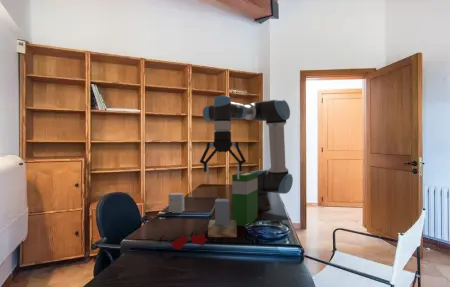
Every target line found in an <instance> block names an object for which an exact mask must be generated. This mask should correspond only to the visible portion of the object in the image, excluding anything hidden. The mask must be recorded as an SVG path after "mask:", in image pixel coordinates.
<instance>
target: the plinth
mask: <svg viewBox="0 0 450 287" xmlns="http://www.w3.org/2000/svg"><path fill="white" fill-rule="evenodd" d="M237 226H238V225H236V220H232V219H229V225H215V219H209V222H208V225H207V238H237V237H238V236H237V234H238V227H237Z"/></svg>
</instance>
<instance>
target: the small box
mask: <svg viewBox="0 0 450 287" xmlns="http://www.w3.org/2000/svg"><path fill="white" fill-rule="evenodd" d="M167 196H168V197H167V198H168V213H169V212H172V213H171V214H183V213H184V212H185V193H184V192H171V193H168V195H167ZM183 211H184V212H183ZM182 212H183V213H182Z"/></svg>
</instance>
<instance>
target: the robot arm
mask: <svg viewBox="0 0 450 287" xmlns="http://www.w3.org/2000/svg"><path fill="white" fill-rule="evenodd" d="M290 116H291V110H290V105H289V104H288V102H287V101H286V100H285V99H281V98H280V99H278V98H277V99H272V100H271V99H270V100H261V101H256V102H252V103H245V104H244V103H238V102H233V101H232V100H231V96H229V95H217V96H215V97H214V98H213V105H206V106H204V107H203V109H202V117H203V119H204V120H205V121H207V122H209V121H211V122H212V121H213V130H214V132H213V139H214V140H213V142H210V141H209V142H208V141H207V143H206V147H205V149H204V152H203V154H202V156H201V158H200V160H199V162H200V164H203V172H206V180H209V179H210V177H209V176H210V175H209V174H210V172H209V161H210V160H211V159H212V158H213V156H214V155H215V154H216V153H222V152H223V153H228V152H229V153H230V154H231V156H232V157H233V158H234V160H235V161H236V162H237V165H236V174H237V179H239V173H240V172H243V171H242V169H243V164H245V163H246V159H245V156H244V155H243V153H242V151H241V148H240V147H239V141H235V142H232V132H231V130H232V120H247V121H261V122H263V121H265V125H266V126H267V127H268V136H269V137H268V139H269V158H270V159H269V161H270V167H269V168H268V169H260V170H253V171H249V173H254V172H258V211H260V212H261V211H270V210H271V209H272V203H271V201H270V197H269V193H273V194H280V195H281V194H288V193H290V191H291V189H292V188H293V187H292V186H293V182H294V181H293V180H294V179H293V175H292V174H291V173H290V172H289V169H288V168H287V167H286V147H285V146H286V145H285V144H286V142H285V125H286V124H287V120H289V119H290V118H291V117H290ZM212 146H213V148H214V150H213V151H212V152H211V153H210V154H209V155H208V157H207V154H208V153H209V150H210V148H212ZM232 146H233V147H235V149H236V152H238V155H239V156H240V158H241V160H240V159H239V157H238V156H237V155H236V154H235V153H234V152H233V150H232V149H231V148H232ZM206 157H207V159H205V158H206Z"/></svg>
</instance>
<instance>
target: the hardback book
mask: <svg viewBox="0 0 450 287" xmlns="http://www.w3.org/2000/svg"><path fill="white" fill-rule="evenodd" d="M231 176H232V177H231V178H232V179H231V184H232V187H231V190H232V191H231V192H232V193H231V196H232V198H231V199H232V201H231V205H232V207H231V212H232V214H231V215H232V217H231V218H232V219H231V220H236V225H237V226H238V227H239V226H240V227H246V226H245V225H246V224H248V223H251V222H252V223H253V222H254V221H256V220H257V219H258V172H254V173H250V172H247V171H240V172H239V179H237V173H235V174H232V175H231ZM252 223H251V224H252Z"/></svg>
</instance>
